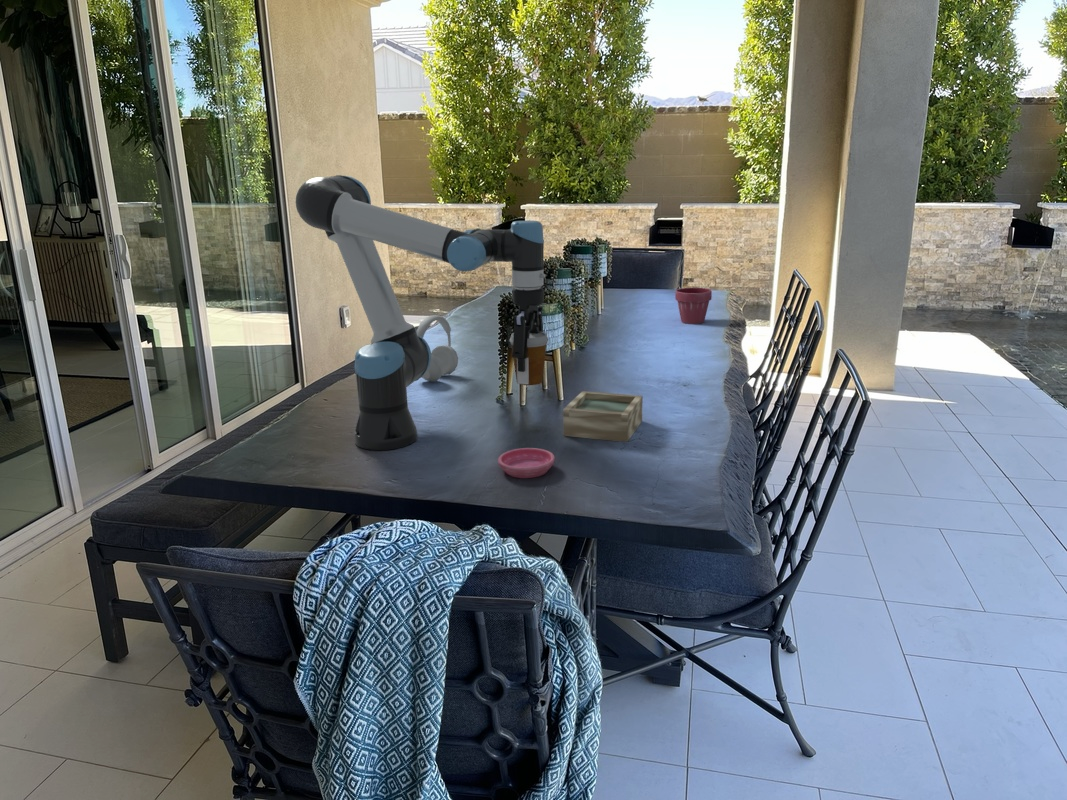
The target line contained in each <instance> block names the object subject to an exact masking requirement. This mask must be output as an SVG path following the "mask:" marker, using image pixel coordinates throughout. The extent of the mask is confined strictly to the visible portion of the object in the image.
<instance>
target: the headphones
mask: <svg viewBox="0 0 1067 800" xmlns="http://www.w3.org/2000/svg"><path fill="white" fill-rule="evenodd" d="M435 321H436V322H438V323H439V324H440V325H441V327H442V328H443V330H444V331H445V333H446V335H447V341H448V342H447V343H448V344H445V345H444V344H443V345H437V346H436V347H435V348H433V349H432V351H431V363H430V366H429V368H428V370H427V371H426V372H425V374H424V375H423V376H422V377H421V378H422V379H424V380H425V381H428V382H431V383H433V382H437V381H439V380H440V379H441V377H442V376H446V375H451V374H452V373H453V372H454V371H456V370H457V367H458V363H459V355H458V353H457V351H456V350H455V349H454V348H453V346H452V343H451V331H452V328H451V326H450V324H449V322H448V320H447V318H445V317H444V316H441V315H437V314H436V315H435V314H434V315H433V314H432V315H429V316H426V317H425V318H423V319H422V321H420V323H419V325H418V327H417V330H416V333H417V335H419V336H420V337H421V338H423V339H424V336H425V334H426V332H427V330H428V328H429V327H430V326H431V324H433V322H435Z"/></svg>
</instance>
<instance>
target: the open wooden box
mask: <svg viewBox="0 0 1067 800" xmlns="http://www.w3.org/2000/svg"><path fill="white" fill-rule="evenodd" d="M562 415H563V417H562V418H563V419H562V421H563V423H562V424H563V427H562V429H563V436H565V437H574V438H584V439H594V440H604V441H615V442H622V443H623V442H624V443H627V442H628V441H629V440H630V439H631V438H632V436H633V435H634V433H635V432H636V430H637V429H638V428H639V426H640V425H641V423H642V422H643V395H635V394H624V393H611V392H599V391H584V390H582V391H581V392H580V393H579V394H577V396H576V397H574V399H572V400H571V401H570V402H569V403H568V404H567V405H566V406H565V407H564V408H563V409H562Z"/></svg>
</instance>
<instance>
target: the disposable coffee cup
mask: <svg viewBox="0 0 1067 800" xmlns="http://www.w3.org/2000/svg"><path fill="white" fill-rule="evenodd" d="M513 341H514V332H512V333H511V335H510V338H509V343H510V345H511V352H512V353H513ZM548 342H549V337H548V336H547V333H546V332H544V331H543V332H540V331H539V333H538V334H535V333H530V336H529V338H528V339H527V347H528V351H527V358H528V361H529V384H528V385H527V384H520V385H522V386H536V385H540V384H542V382H543V378H544V377H543V375H544V369H545V360H546V353H547V352H546V351H547V344H548ZM512 358H513V357H512ZM513 364H514V371H515V372H514V373H515V379H516V381H517V358H513Z"/></svg>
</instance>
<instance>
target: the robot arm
mask: <svg viewBox="0 0 1067 800" xmlns="http://www.w3.org/2000/svg"><path fill="white" fill-rule="evenodd" d="M295 196H296V197H295V206H296V207H295V208H296V211H297V213H298V215H299V217H300V218H301V219H302V221H304V223H306V225H308V226H310V227H313V228H314V229H315V228H316V229H318V230H321V231H322V230H323V231H324V232H325V234H326V237H327V239H328V240H330V241H332V242H335V243H336V244H337V247H338V250H339V252H340V254H341V257H342V260H343V262H344V264H345V266H346V269H347V271H348V273H349V277H350V279H351V282H352V283H353V287H354V288H355V291H356V293H357V296H358V298H359V301H360V303H361V306H362V308H363V311H364V313H365V315H366V318H367V320H368V323H369V326H370V328H371V330H372V332H373V334H372V337H371V340H370V343H369V344H366V345H363V346H362V347H360V348H359V349H358V350H357V351H356V353H355V354H354V366H353V367H354V372H355V378H356V380H355V381H356V389H357V390H356V391H357V399H358V400H357V401H358V407H359V409H358V411H359V413H358V417H357V422H356V426H355V429H354V430H355V431H354V443H355V445H356V446H357V447H359V448H361V449H364V450H369V451H386V450H387V451H388V450H396V449H400V448H403V447H407V446H409V445H411V444H413V443H415V442H416V441H417V439H418V429H417V427H416V424H415V421H414V419H413V417H412V414H411V412H410V410H409V406H408V405H409V404H408V392H407V391H408V390H407V388H408V387H409V386H410V385H411V384H413V383H414V382H417V381H419V380H420V379H421V378H422V376H423V375H424V374H425V372H426V371H427V370H428V368H429V366H430V363H431V353H432V351H431V348H430V345H429V343H428V342H427V341H426V340H425V339H424V337H423V338H421V337H420V336H419V335H417V333H416V332H417V330H416V329H415V326H414V324H411V323H409V322H408V321H407V320H406V319H405V317H404V314H403V311H402V309H401V307H400V303H399V302H398V301H399V300H398V299H397V297H396V295H395V292H394V289H393V286H392V284H391V282H390V280H389V277H388V275H387V272H386V269H385V267H384V264H383V261H382V259H381V257H380V254H379V252H378V249H377V247H376V244H375V242H378V243H381V244H385V245H388V246H391V247H394V248H397V249H398V248H399V249H402V250H404V251H408V252H411V253H415V254H417V255H422V256H425V257H428V258H432V259H434V260H438V261H441V262H444V263H447V264H449V265H450V266H451V267H453V268H454V269H455V270H456V271H460V272H471V271H474V270H477V269H478V268H480V267H482V266H483V265H486V264H488V263H490V262H498V263H499V262H500V263H501V262H505V263H510V262H511V286H513V288H512V303H513V304H514V305H516V306H518V307H519V308H518V312H517V313H518V314H517V315H513V333H514V341H513V352H512V358H517V380H516V384H518V385H521V384H527V385H526V386H529V385H528V384H529V361H528V358H527V351H528V347H527V339H528V338H529V336H530V333H535V334H538V333H539V331H540V332H544V324H543V323H544V321H543V310H544V309H543V306H541V305H542V304H544V303H545V289H544V287H543V286H544V284H545V283H544V279H545V278H546V274H545V273H544V269H545V268H544V254H545V253H544V249H545V248H544V247H545V246H544V244H545V239H544V229H543V228H544V227H543V226H544V225H543V224H542V223H541V222H540V221H537V220H515V221H512V223H511V224H510V228H509V229H489V228H488V229H486V228H485V229H484V228H483V229H481V228H473V229H470V228H469V229H465V230H464V231H461V230H458V229H457V230H456V229H453V228H451V227H447V226H444V225H440V224H437V223H434V222H430V221H427V220H424V219H421V218H418V217H415V216H414V217H413V216H412V215H411V216H410V215H407V214H403V213H400V212H397V211H393V210H391V209H386V208H383V207H380V206H377V205H373V204H372V200H371V195H370V193H369V191H368V189H367V187H366V186H365V185H364V184H363V183H362V182H361V181H360V180H359V179H357V178H354V177H352V176H347V175H342V174H339V175H332V176H325V177H323V176H322V177H320V176H319V177H313V178H310V179H308V180H306V181H305V182H304V183H302V185H301V186H300V187H299V188H298V190H297V192H296V195H295ZM374 241H375V242H374ZM539 305H540V306H539Z"/></svg>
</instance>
